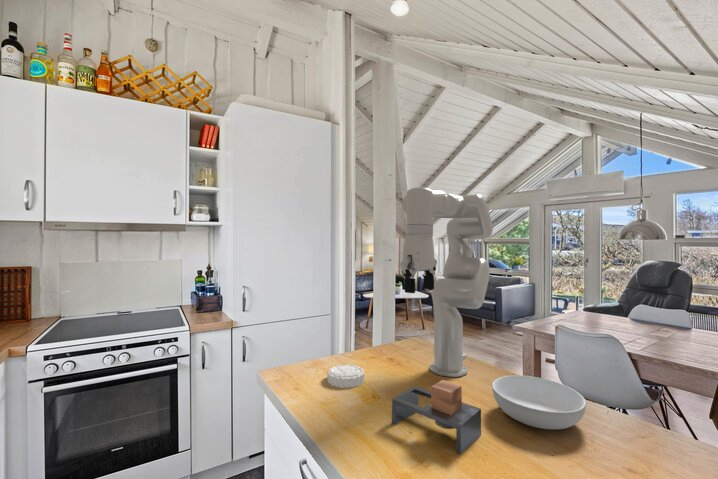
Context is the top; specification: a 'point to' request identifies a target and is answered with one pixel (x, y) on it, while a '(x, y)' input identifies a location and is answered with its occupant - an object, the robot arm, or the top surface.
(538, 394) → the serving bowl
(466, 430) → the keyhole bracket
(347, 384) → the mooncake
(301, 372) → the top surface
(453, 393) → the keyhole peg
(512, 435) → the top surface
